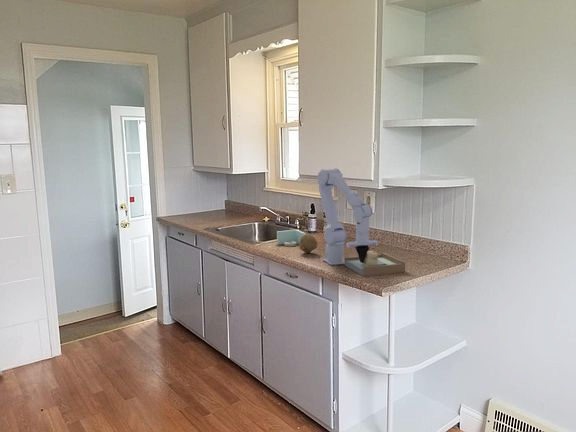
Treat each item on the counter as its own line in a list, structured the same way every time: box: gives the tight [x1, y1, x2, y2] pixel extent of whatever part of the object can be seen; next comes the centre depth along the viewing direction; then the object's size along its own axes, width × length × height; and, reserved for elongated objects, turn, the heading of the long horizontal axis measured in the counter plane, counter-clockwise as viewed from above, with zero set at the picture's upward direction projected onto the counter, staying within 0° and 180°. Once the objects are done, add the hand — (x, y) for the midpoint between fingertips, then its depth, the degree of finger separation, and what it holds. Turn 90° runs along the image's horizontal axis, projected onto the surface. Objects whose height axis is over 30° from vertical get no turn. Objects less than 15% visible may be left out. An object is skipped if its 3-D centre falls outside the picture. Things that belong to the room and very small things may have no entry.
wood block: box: [364, 250, 378, 265], centre depth 209 cm, size 5×5×5 cm
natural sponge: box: [298, 233, 318, 254], centre depth 239 cm, size 9×9×10 cm
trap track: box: [343, 252, 406, 277], centre depth 210 cm, size 19×20×4 cm
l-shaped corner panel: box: [276, 229, 307, 247], centre depth 257 cm, size 12×12×8 cm
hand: (361, 262), depth 208 cm, fingers closed
